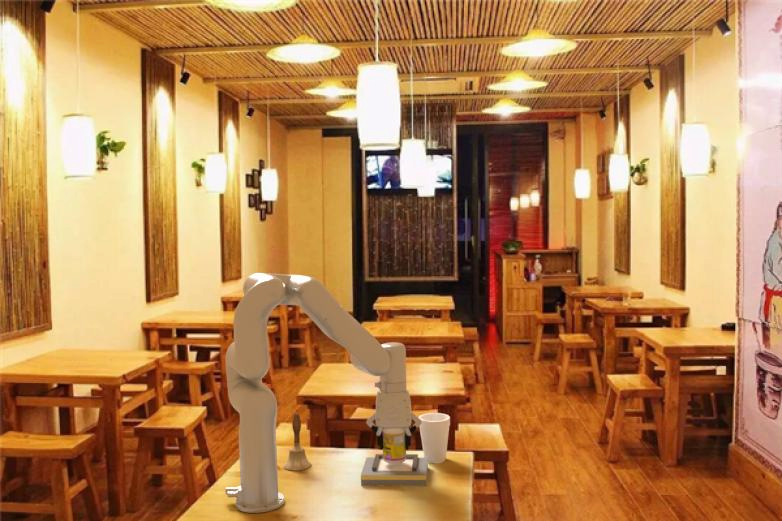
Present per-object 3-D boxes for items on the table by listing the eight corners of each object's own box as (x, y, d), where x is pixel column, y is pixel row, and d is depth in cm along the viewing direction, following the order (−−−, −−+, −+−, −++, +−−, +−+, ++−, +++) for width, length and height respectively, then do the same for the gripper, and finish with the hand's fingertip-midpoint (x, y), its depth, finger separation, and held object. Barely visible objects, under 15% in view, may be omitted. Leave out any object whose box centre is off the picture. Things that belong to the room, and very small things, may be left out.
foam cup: (451, 454, 223) (450, 413, 223) (450, 464, 214) (449, 421, 213) (420, 454, 224) (419, 413, 224) (418, 464, 215) (417, 421, 214)
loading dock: (361, 485, 200) (360, 474, 200) (366, 467, 214) (366, 457, 214) (426, 486, 198) (426, 474, 198) (427, 467, 213) (427, 457, 212)
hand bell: (296, 459, 222) (295, 408, 221) (317, 464, 218) (315, 412, 217) (277, 467, 216) (275, 415, 215) (298, 473, 211) (296, 419, 210)
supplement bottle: (379, 458, 209) (378, 415, 208) (400, 455, 211) (399, 412, 210) (388, 466, 202) (387, 420, 202) (410, 462, 205) (409, 417, 204)
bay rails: (372, 470, 203) (371, 467, 203) (375, 457, 213) (375, 454, 213) (416, 471, 202) (416, 467, 202) (418, 457, 212) (417, 454, 212)
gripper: (361, 389, 202) (362, 452, 204) (423, 389, 201) (424, 452, 202) (364, 383, 210) (365, 443, 211) (424, 383, 208) (425, 444, 210)
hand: (394, 447), depth 207 cm, fingers closed on supplement bottle, 6 cm apart
